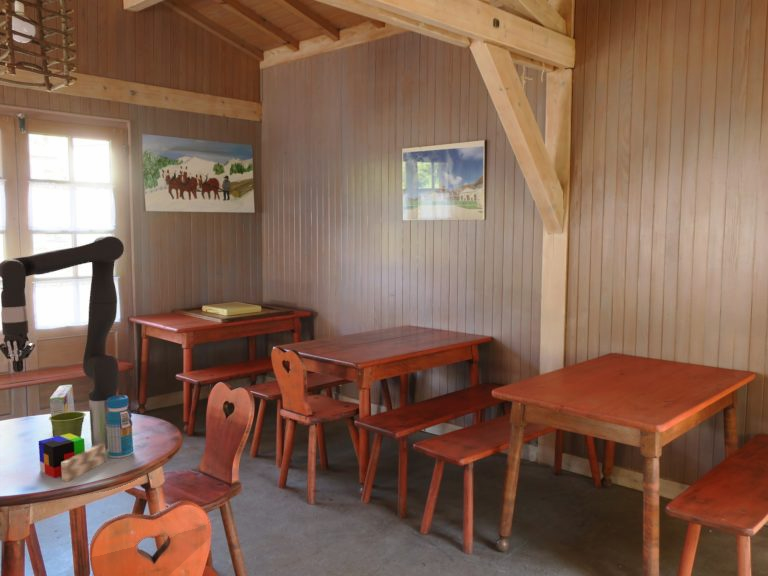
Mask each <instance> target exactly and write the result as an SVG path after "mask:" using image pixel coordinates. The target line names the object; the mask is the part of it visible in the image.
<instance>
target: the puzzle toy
mask: <svg viewBox="0 0 768 576" xmlns="http://www.w3.org/2000/svg"><path fill="white" fill-rule="evenodd" d="M85 448H86V447H85V438H82V436H81V437H78V436H75V435H73V434H70V433H69V434H65V435H61V436H57V437H55V436H52V437H49V438H45V439H40V440H38V453H39V468H40V472H41V473H44V474H45V475H48V476H49V477H52V478H54V479H55V478H56V479H57V478H60V477H62V471H61V462H63V461H65V460H67V459H69V458H71V457H73V456H75V455H77V454H79V453H81V452H83V451H85V450H86V449H85Z"/></svg>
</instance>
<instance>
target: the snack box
mask: <svg viewBox="0 0 768 576" xmlns="http://www.w3.org/2000/svg"><path fill="white" fill-rule="evenodd" d="M49 407H50V417H51V416H53V415H55V414H59V413H65V412H76V411H75V401H74V389H73V384H63V385H59V386H58V387H57V388H56V390H55V391H53V394H52V395H51V396H50V397H49ZM51 430H52V437H55V434H54V429H53V426H52V425H51Z"/></svg>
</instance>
